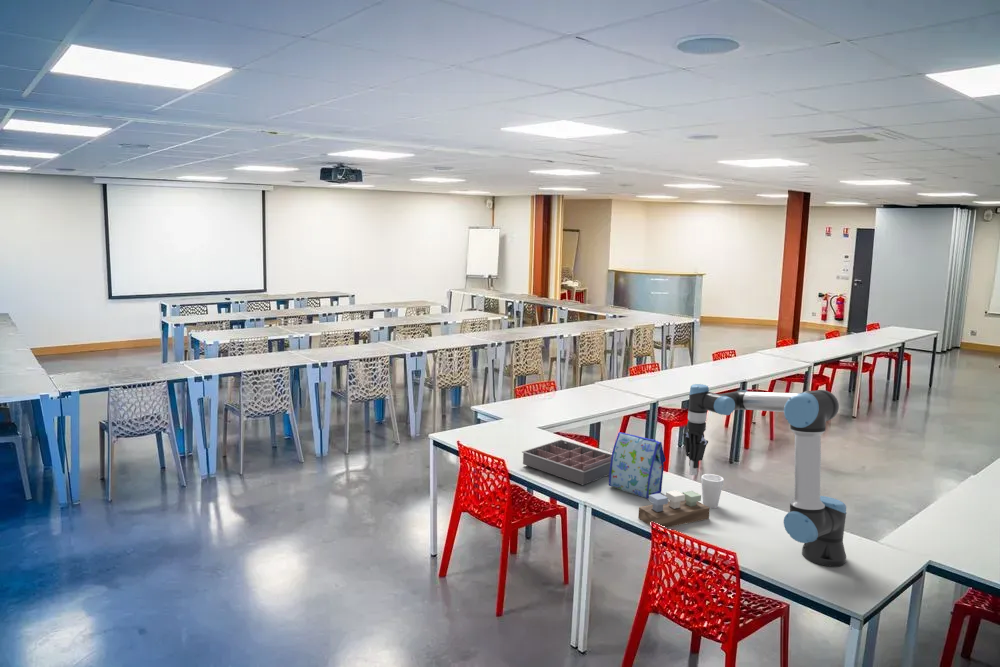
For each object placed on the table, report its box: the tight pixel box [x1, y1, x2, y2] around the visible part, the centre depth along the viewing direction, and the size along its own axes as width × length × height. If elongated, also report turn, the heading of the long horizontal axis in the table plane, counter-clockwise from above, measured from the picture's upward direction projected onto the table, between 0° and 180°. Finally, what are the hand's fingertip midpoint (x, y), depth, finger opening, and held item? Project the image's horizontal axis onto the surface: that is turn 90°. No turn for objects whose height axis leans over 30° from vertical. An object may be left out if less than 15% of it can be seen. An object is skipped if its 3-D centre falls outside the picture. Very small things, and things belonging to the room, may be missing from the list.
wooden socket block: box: [637, 500, 711, 528], centre depth 289 cm, size 12×28×5 cm, turn 116°
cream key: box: [665, 489, 685, 509], centre depth 288 cm, size 6×6×6 cm
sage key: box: [681, 490, 702, 507], centre depth 292 cm, size 6×6×6 cm
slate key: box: [648, 493, 669, 512], centre depth 284 cm, size 6×6×6 cm
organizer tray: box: [521, 439, 612, 486], centre depth 345 cm, size 32×40×10 cm
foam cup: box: [700, 473, 725, 509], centre depth 303 cm, size 10×9×13 cm
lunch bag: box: [608, 431, 667, 500], centre depth 319 cm, size 22×17×26 cm
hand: (692, 474), depth 290 cm, fingers closed
